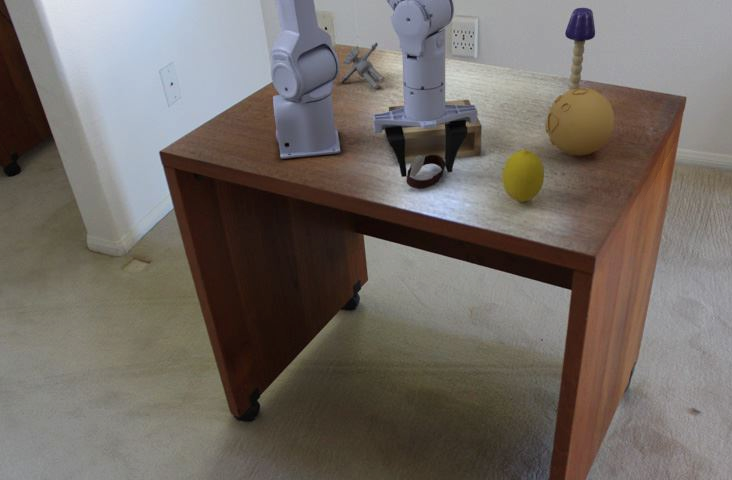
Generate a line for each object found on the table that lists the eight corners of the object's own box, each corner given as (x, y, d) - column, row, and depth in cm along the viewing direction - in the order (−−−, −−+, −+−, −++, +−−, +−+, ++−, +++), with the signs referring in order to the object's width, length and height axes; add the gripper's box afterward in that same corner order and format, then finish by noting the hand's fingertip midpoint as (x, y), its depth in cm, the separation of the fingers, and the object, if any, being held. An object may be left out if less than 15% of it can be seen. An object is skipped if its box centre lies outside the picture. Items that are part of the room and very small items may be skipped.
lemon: (537, 191, 106) (541, 139, 101) (545, 211, 102) (550, 158, 97) (498, 193, 106) (500, 141, 101) (504, 213, 102) (507, 160, 97)
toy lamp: (591, 112, 126) (604, 11, 116) (567, 118, 125) (578, 16, 114) (575, 102, 129) (586, 3, 119) (552, 107, 128) (561, 8, 118)
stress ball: (616, 143, 117) (625, 81, 110) (600, 171, 110) (610, 107, 104) (553, 133, 120) (559, 73, 114) (535, 160, 113) (540, 97, 107)
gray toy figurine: (354, 98, 136) (326, 69, 140) (368, 110, 142) (340, 82, 145) (392, 56, 134) (363, 28, 138) (405, 70, 140) (376, 43, 143)
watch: (426, 165, 114) (426, 143, 112) (453, 172, 112) (453, 150, 110) (398, 187, 109) (397, 164, 107) (425, 195, 107) (425, 172, 105)
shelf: (397, 163, 115) (396, 133, 112) (390, 135, 123) (388, 106, 120) (480, 155, 116) (481, 125, 113) (468, 128, 124) (468, 99, 121)
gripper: (374, 98, 98) (379, 189, 106) (483, 88, 99) (480, 179, 107) (369, 78, 103) (374, 166, 112) (472, 68, 104) (470, 157, 112)
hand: (426, 171), depth 110 cm, fingers closed on watch, 6 cm apart
